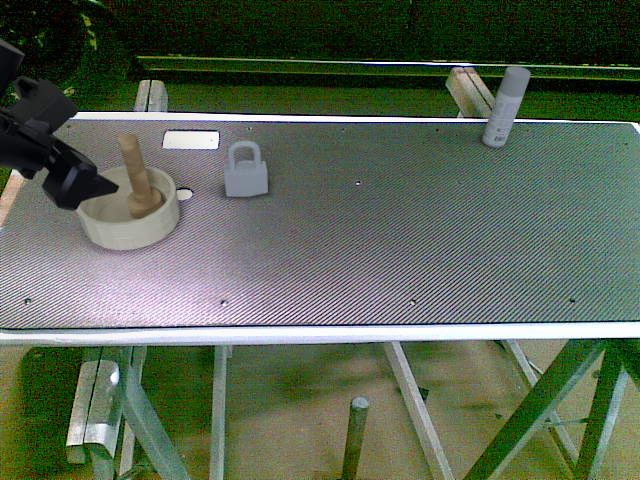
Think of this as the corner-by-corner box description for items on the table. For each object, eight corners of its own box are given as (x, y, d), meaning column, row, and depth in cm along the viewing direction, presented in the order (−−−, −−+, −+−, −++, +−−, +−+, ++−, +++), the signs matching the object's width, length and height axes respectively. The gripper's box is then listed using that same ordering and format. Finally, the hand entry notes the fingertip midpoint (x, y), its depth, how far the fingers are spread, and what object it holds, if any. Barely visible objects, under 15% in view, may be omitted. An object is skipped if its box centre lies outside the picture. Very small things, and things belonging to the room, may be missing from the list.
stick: (132, 223, 74) (110, 151, 65) (127, 203, 77) (106, 131, 68) (166, 216, 76) (149, 144, 66) (160, 196, 79) (143, 125, 70)
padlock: (265, 181, 84) (263, 132, 77) (268, 195, 82) (267, 146, 75) (225, 184, 83) (219, 135, 76) (226, 199, 80) (221, 149, 73)
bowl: (93, 264, 69) (82, 237, 65) (79, 204, 77) (68, 177, 73) (191, 236, 74) (186, 209, 70) (167, 183, 82) (162, 157, 79)
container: (507, 139, 99) (534, 70, 88) (501, 150, 96) (528, 79, 85) (485, 132, 100) (509, 63, 90) (478, 142, 97) (502, 72, 87)
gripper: (53, 102, 48) (166, 153, 61) (-19, 42, 56) (94, 98, 70) (2, 196, 49) (125, 225, 63) (-61, 123, 58) (59, 163, 71)
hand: (100, 173), depth 67 cm, fingers open, 9 cm apart
